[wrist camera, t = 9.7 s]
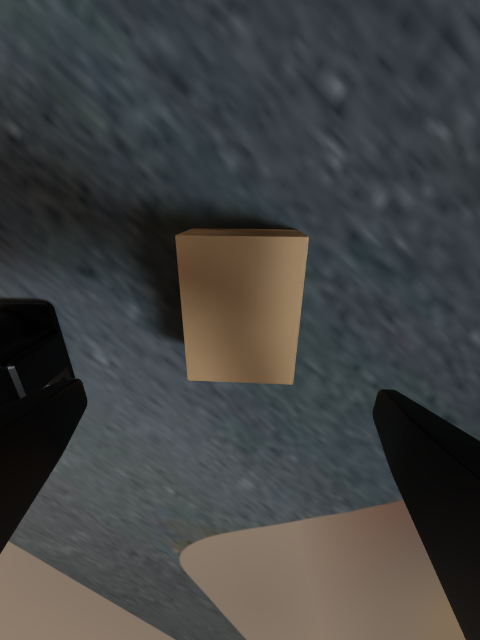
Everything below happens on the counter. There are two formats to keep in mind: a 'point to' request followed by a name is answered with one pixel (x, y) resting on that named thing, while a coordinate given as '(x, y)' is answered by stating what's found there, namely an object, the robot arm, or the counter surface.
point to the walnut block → (241, 302)
